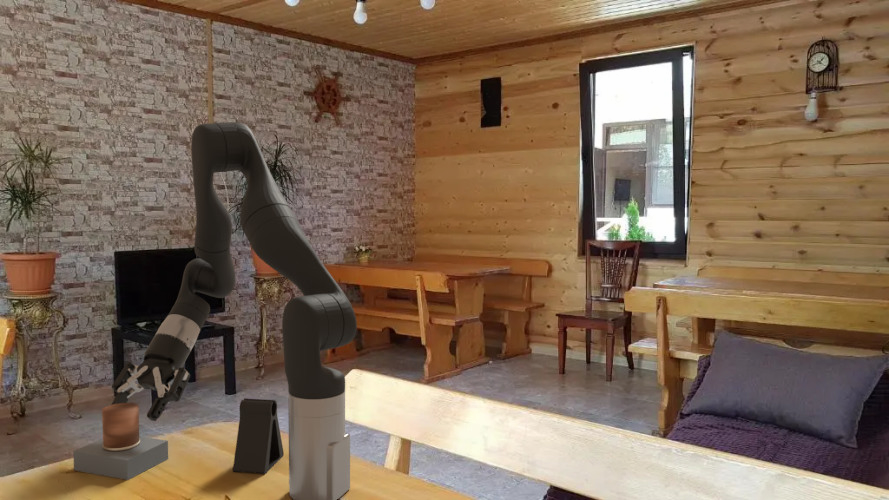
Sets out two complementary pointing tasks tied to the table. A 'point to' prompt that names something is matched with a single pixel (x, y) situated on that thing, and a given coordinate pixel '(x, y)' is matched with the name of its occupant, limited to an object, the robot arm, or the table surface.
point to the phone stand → (257, 437)
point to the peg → (120, 427)
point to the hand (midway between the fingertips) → (132, 416)
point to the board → (121, 458)
